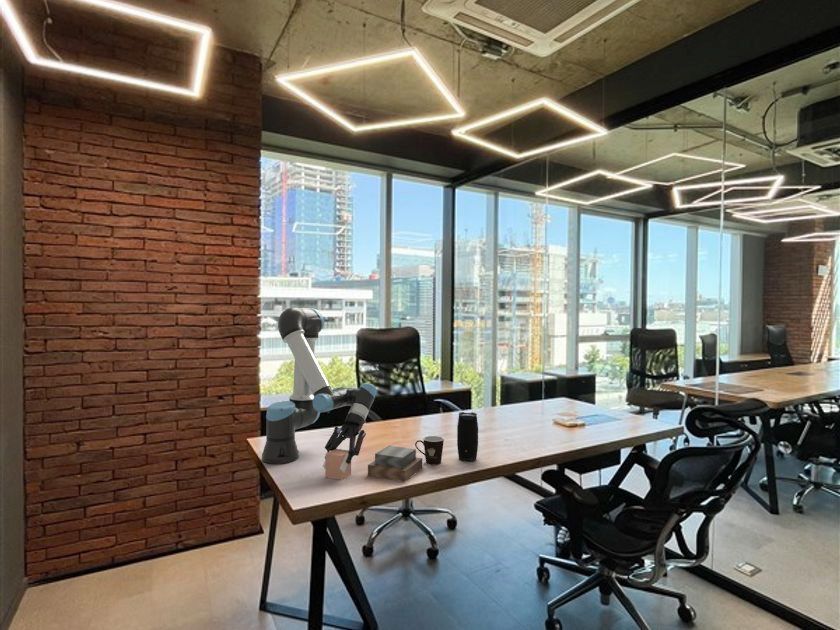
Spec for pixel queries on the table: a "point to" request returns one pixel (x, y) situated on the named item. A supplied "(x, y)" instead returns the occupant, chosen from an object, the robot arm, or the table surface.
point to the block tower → (395, 463)
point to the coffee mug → (432, 449)
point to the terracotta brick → (336, 464)
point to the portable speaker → (467, 436)
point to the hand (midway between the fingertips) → (333, 469)
